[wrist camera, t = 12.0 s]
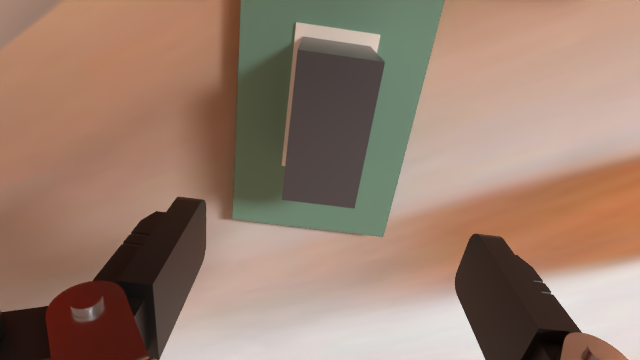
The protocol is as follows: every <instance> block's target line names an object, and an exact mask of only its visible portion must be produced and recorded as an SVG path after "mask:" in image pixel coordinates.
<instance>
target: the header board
mask: <svg viewBox="0 0 640 360" xmlns="http://www.w3.org/2000/svg"><path fill="white" fill-rule="evenodd" d="M444 1H445V0H241V11H240V37H239V62H238V88H237V113H236V139H235V164H234V190H233V216H232V219H234V220H242V221H251V222H259V223H268V224H276V225H285V226H293V227H302V228H310V229H319V230H327V231H336V232H344V233H353V234H361V235H370V236H378V237H383V236H384V232H385V228H386V225H387V221H388V217H389V213H390V209H391V205H392V201H393V198H394V194H395V190H396V186H397V182H398V178H399V174H400V171H401V167H402V163H403V159H404V155H405V151H406V147H407V144H408V140H409V136H410V132H411V128H412V124H413V120H414V117H415V113H416V109H417V105H418V101H419V97H420V93H421V90H422V86H423V82H424V78H425V74H426V70H427V66H428V63H429V59H430V55H431V51H432V47H433V43H434V39H435V35H436V32H437V28H438V24H439V20H440V16H441V12H442V8H443V5H444ZM303 36H304V37H311V38H318V39H325V40H331V41H338V42H345V43H352V44H359V45H365V46H371V47H372V48H373V50H374V51H375V52H376V53H377V54H378V55H379V56H380V57H381V58H382V59H383V60H384V61H385V65H384V70H383V75H382V80H381V84H380V89H379V94H378V99H377V104H376V108H375V113H374V118H373V123H372V128H371V132H370V137H369V142H368V147H367V152H366V156H365V161H364V166H363V171H362V176H361V180H360V185H359V190H358V195H357V199H356V204H355V209H353V208H345V207H337V206H328V205H320V204H312V203H304V202H296V201H287V200H282V192H283V183H284V173H285V164H286V154H287V145H288V135H289V126H290V117H291V107H292V98H293V88H294V79H295V69H296V60H297V50H298V47H299V45H300V43H301V40H302V38H303Z"/></svg>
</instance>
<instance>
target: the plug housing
mask: <svg viewBox="0 0 640 360" xmlns="http://www.w3.org/2000/svg"><path fill="white" fill-rule="evenodd" d="M384 65H385V61H384V60H383V59H382V58H381V57H380V56H379V55H378V54H377V53H376V52H375V51H374V50H373V48H372V47H371V46H365V45H359V44H352V43H345V42H338V41H331V40H325V39H318V38H311V37H304V36H303V38H302V40H301V43H300V45H299V47H298V50H297V60H296V69H295V79H294V88H293V98H292V107H291V117H290V126H289V135H288V145H287V154H286V164H285V173H284V183H283V192H282V200H287V201H296V202H304V203H312V204H320V205H328V206H337V207H345V208H353V209H355V204H356V199H357V195H358V190H359V185H360V180H361V176H362V171H363V166H364V161H365V156H366V152H367V147H368V142H369V137H370V132H371V128H372V123H373V118H374V113H375V108H376V104H377V99H378V94H379V89H380V84H381V80H382V75H383V70H384Z"/></svg>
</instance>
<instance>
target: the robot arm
mask: <svg viewBox="0 0 640 360" xmlns="http://www.w3.org/2000/svg"><path fill="white" fill-rule="evenodd" d="M205 250H206V203H205V200H201V199H193V198H185V197H177V198H176V199H175V201H174V202H173V203H172V205H171V206H170V208H169V209H168V210H167V212H158V211H156V212H154V213H153V214H151V215H149V216H148V217H146V218H144V219H143V220H141V221H140V222H139V223H138V225H137V226H136V227H135V228H134V230H133V231H132V232H131V235H129V236H128V237H127V238H126V240H125V241H124V243H123V245H121V246H120V247H119V248H118V250H117V251H116V252H115V253H114V255H113V256H112V257H111V258H110V260H109V261H108V262H107V263H106V265H105V266H104V267H103V268H102V270H101V271H100V272H99V273H98V275H97V276H96V277H95V278H94V280H93V281H89V282H85V283H81V284H78V285H75V286H73V287H71V288H69V289H67V290H65V291H63V292H62V293H60V294H59V295H58V296H57V297H55V298H54V299H53V300H52V302H51V303H50V304H49V306H44V307H38V308H31V309H23V310H15V311H8V312H0V360H155V359H156V360H159V359H160V357H161V354H162V352H163V350H164V348H165V346H166V343H167V341H168V339H169V337H170V334H171V332H172V330H173V328H174V325H175V323H176V321H177V319H178V316H179V314H180V312H181V310H182V308H183V305H184V303H185V301H186V299H187V296H188V294H189V292H190V290H191V287H192V285H193V283H194V281H195V279H196V276H197V274H198V272H199V270H200V267H201V265H202V262H203V259H204V255H205ZM455 289H456V293H457V296H458V298H459V300H460V303H461V305H462V307H463V309H464V312H465V314H466V316H467V319H468V321H469V323H470V325H471V328H472V330H473V332H474V334H475V337H476V339H477V341H478V344H479V346H480V348H481V350H482V353H483V355H484V357H485V359H486V360H628V359H627V358H626V357H625V356H624V355H623V354H622V353H621V352H619V351H618V350H617V349H616V348H614V347H613V346H611V345H610V344H608V343H607V342H605V341H603V340H601V339H599V338H597V337H595V336H592V335H589V334H585V333H582V332H581V331H580V329H579V328H578V327H577V325H576V324H575V323H574V322H573V320H572V319H571V318H570V316H569V315H568V314H567V312H566V311H565V310H564V308H563V307H562V306H561V304H560V303H559V302H558V300H557V299H556V298H555V296H554V295H551V291H550V290H549V288H548V287H547V286H546V285H545V283H543V281H542V279H541V278H540V277H539V275H538V274H537V273H536V271H535V270H534V269H533V267H531V266H530V265H529V264H528V263H526V262H525V261H524V260H523V259H521V258H520V257H519V256H518V255H515V254H514V253H513V252H512V250H511V249H510V248H509V246H508V245H507V243H506V242H505V241H504V239H503V238H502V237H499V236H491V235H483V234H473V235H472V236H471V237H470V239H469V242H468V244H467V247H466V249H465V252H464V255H463V257H462V260H461V262H460V265H459V267H458V270H457V273H456V277H455Z"/></svg>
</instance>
